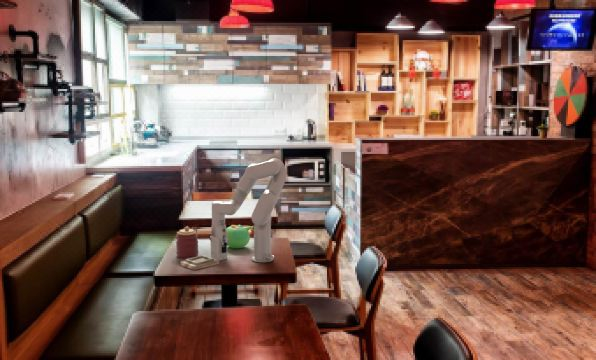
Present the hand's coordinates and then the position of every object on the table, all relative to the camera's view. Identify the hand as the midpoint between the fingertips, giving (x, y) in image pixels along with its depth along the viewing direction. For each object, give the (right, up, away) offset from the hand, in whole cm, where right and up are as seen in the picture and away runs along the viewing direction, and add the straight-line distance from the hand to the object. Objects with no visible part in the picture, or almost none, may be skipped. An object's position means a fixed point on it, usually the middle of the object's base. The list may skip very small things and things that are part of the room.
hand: (218, 251), depth 374 cm
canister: (-19, -4, +6) cm, 21 cm away
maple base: (-9, -6, -12) cm, 16 cm away
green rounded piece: (+8, -1, +25) cm, 26 cm away
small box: (0, -5, +1) cm, 5 cm away
